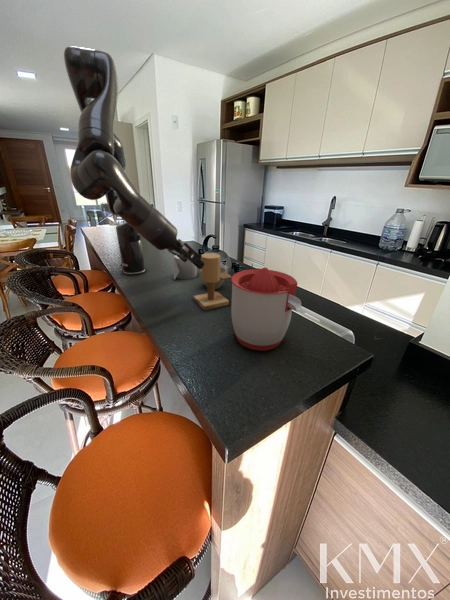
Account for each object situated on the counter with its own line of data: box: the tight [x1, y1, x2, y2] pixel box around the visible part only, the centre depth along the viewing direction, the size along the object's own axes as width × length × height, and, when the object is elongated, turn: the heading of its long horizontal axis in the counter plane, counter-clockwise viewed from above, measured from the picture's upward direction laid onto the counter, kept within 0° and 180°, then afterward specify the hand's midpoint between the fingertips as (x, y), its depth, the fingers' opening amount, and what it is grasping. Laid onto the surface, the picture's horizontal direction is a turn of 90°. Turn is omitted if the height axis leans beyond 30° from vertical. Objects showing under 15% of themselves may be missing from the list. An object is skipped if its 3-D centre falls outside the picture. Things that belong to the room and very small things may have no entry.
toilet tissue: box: [173, 255, 198, 281], centre depth 105 cm, size 9×13×9 cm
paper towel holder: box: [193, 282, 230, 311], centre depth 82 cm, size 9×9×16 cm
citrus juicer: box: [230, 267, 302, 352], centre depth 62 cm, size 16×17×20 cm
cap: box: [200, 252, 233, 283], centre depth 81 cm, size 10×6×8 cm, turn 119°
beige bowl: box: [199, 265, 228, 290], centre depth 96 cm, size 10×10×7 cm
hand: (194, 263), depth 75 cm, fingers open, 8 cm apart
